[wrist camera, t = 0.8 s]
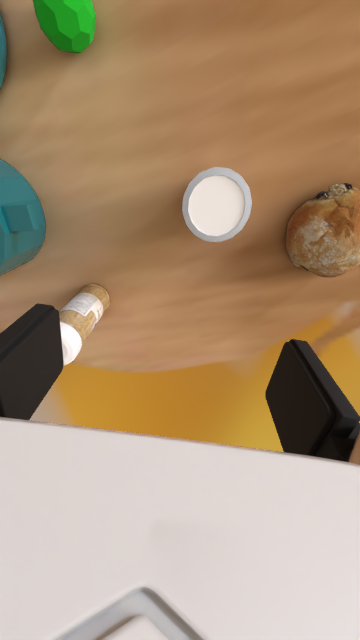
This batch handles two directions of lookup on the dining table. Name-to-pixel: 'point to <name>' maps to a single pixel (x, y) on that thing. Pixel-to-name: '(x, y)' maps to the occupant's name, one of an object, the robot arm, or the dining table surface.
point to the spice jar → (81, 318)
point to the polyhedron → (67, 23)
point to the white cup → (216, 204)
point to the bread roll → (326, 232)
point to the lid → (2, 51)
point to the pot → (18, 220)
